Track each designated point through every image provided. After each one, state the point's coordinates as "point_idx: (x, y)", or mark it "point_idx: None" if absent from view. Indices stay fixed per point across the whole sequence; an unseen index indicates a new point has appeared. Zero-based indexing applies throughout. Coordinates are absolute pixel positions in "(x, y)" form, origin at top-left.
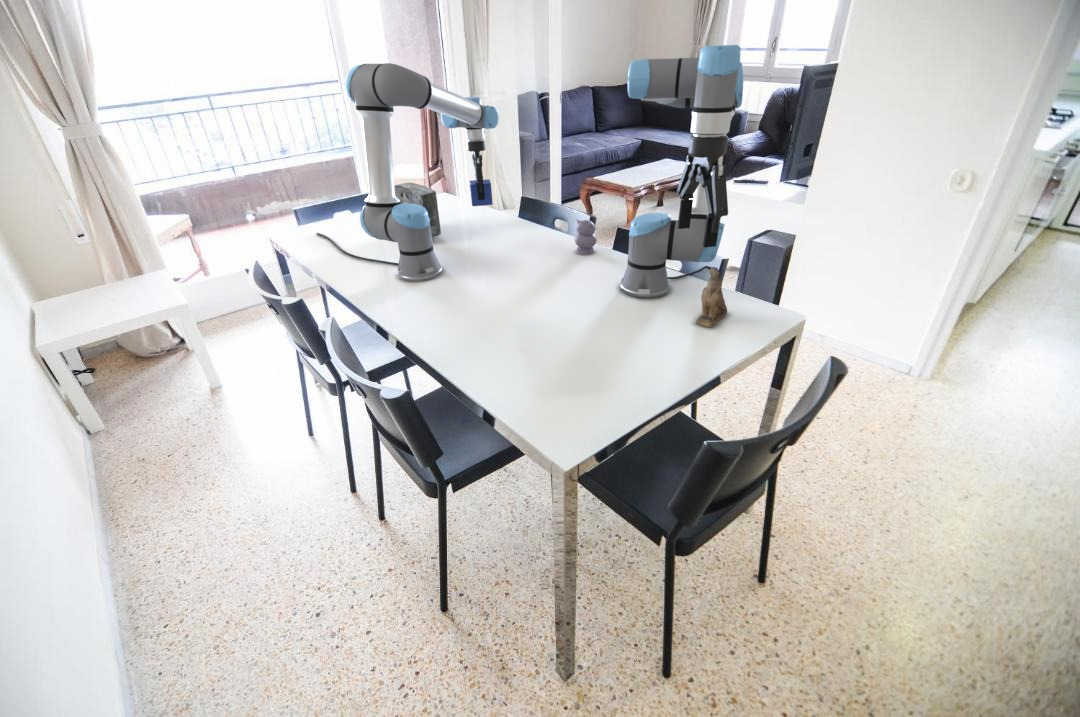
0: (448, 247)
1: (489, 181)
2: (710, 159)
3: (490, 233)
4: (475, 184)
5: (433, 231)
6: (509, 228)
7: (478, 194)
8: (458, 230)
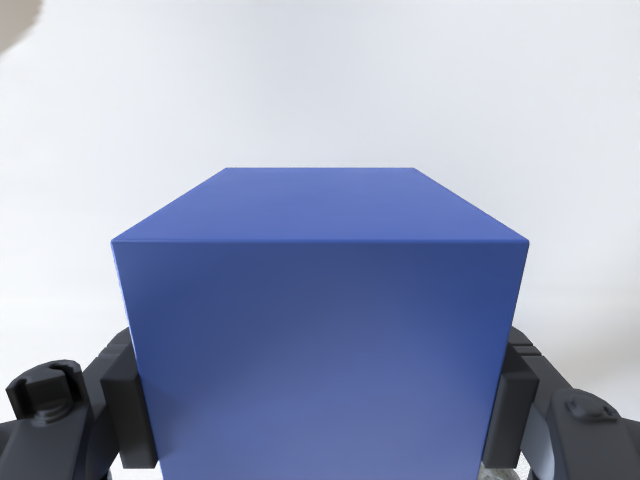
0: (559, 371)
1: (343, 255)
2: None
3: (429, 174)
4: (477, 475)
5: None
6: (367, 39)
7: None
8: None
